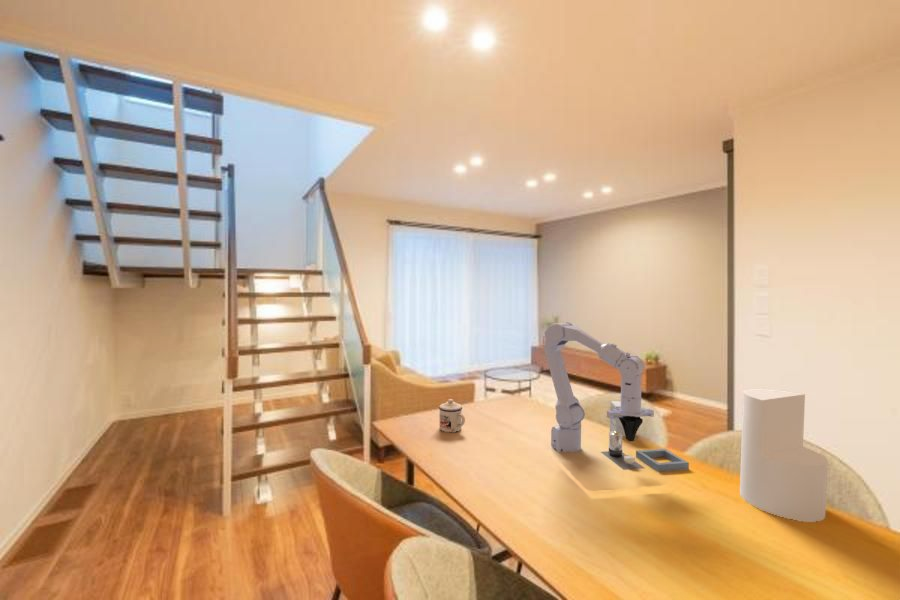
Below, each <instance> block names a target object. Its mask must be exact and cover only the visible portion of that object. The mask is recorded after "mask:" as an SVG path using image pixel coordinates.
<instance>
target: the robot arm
mask: <svg viewBox="0 0 900 600" xmlns="http://www.w3.org/2000/svg"><path fill="white" fill-rule="evenodd" d="M544 337H545V339H544V345H543V352H544V354H545V358H546V360H547V361H546V362H547V366H548V369H549V373H550V376H551V379H552V383H553V386H554V391H555V393H556V397H557V400H556V404H555V412H556V413H555V419H556V422H557V425H555V426H552V427H551V429H550V431H551V432H550V435H551V436H550V445H551V447H552V448H553V449H555V450H556V451H557V452H558V453H562V452H572V453H575V452H576V453H577V452H579V451H581V450H582V446H581V445H582V421H583V420H584V419H585V416H586V413H585V410H584V408H583V406H582V405H581V404H580V401H579V399H578V398H577V397H576V396H575V395H574V392H573V389H572V386H571V383H570V379H569V376H568V372H567V369H566V365H565V362H564V361H565V360H564V357H563V354H562V350H563V348H564V347H565V345H566V344H567V343H568V342H577V343H579V344H581V345H583V346H585V347H587V348H588V349H591V350H593V351H594V352H596V353H597V355H598V358H599V359H601V361H603V362H605V363H607V364H608V365H610V366H612V367H614V368H615V369H617V370H618V372H619V374H620V375H621V380H620V401H621V408H620V409H615V410H610V409H608V410H606V417H607V418H609V420H610V419H613V418H619V420H620V422H621V424H622V426H623V429H624V432H625V436H626V437H625V440H626V441H628V442H634V441H635V438H636V437H635V435H636V436H637V432H638V430H639V428H640V427H641V425H642V424H643V423H644V422H643V421H644V419H643V418H641V417H651V418H654V417H655V414H654V413H655V410H654V409H651V408H642V386H643V385H642V373H643V372H644V370H645V363H644V361H643V359H641V358H640V357H639V356H638V355H631V353H630V352H629V351H627V352H626V351H624V350H622V349H620V348H618V347H617V346H618V345H617V344H616V343H614V342H612V343H609V342H607V343H603V342H601V341H599V340H598V339H596V338H595V337H594V336H592V335H590V334H589V333H587V332H585V331H584V330H583V329H581V328H580V327H578V325H575V324H572V323H571V322H568V321H564V322H559V323H550V325H548V326H547V328H546V330H545V331H544Z"/></svg>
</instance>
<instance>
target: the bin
mask: <svg viewBox="0 0 900 600" xmlns="http://www.w3.org/2000/svg"><path fill="white" fill-rule="evenodd" d="M635 457H636V458H637V459H638V460H640V461H641V462H643V463H644V464H646V465H647V466H648V467H650V468H651V469H653V470H654V471H656V472H668V471H669V472H672V471H673V472H674V471H683V470H685V471H686V470H689V469H690V468H689V467H690V462H689V461H687V460H685V459H684V458H681V457H679V456H678V455H677V454H674V453H673V452H671V451H669V450H668V449H666V448H657V449H644V450H643V449H642V450H635ZM654 458H665V459H667V460H668V461H667V462H658V461H656V459H654Z"/></svg>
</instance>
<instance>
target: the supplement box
mask: <svg viewBox="0 0 900 600" xmlns="http://www.w3.org/2000/svg"><path fill="white" fill-rule="evenodd" d="M609 403H610V404H609V405H610V406H609V407H610V408H609V410H615V409H620V408H621V400H620V401H618V400H615V401H614V400H610V401H609ZM613 431H617V432H619V433H622V434H623V437H624V438H626V436H625V432H624V429H623V426H622V424H621V422H620V420H619V418H613V419H610V418H609V432H613ZM636 437H637V434H636V435H635V438H636Z"/></svg>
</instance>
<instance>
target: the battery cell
mask: <svg viewBox="0 0 900 600" xmlns="http://www.w3.org/2000/svg"><path fill="white" fill-rule="evenodd" d="M608 437H609V438H608V451H609V455H610V456H612V457H616V458H620V457H622V452H623V437H624V436H623V434H622V433H619V432H617V431H613V432H612V431H609V433H608Z"/></svg>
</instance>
